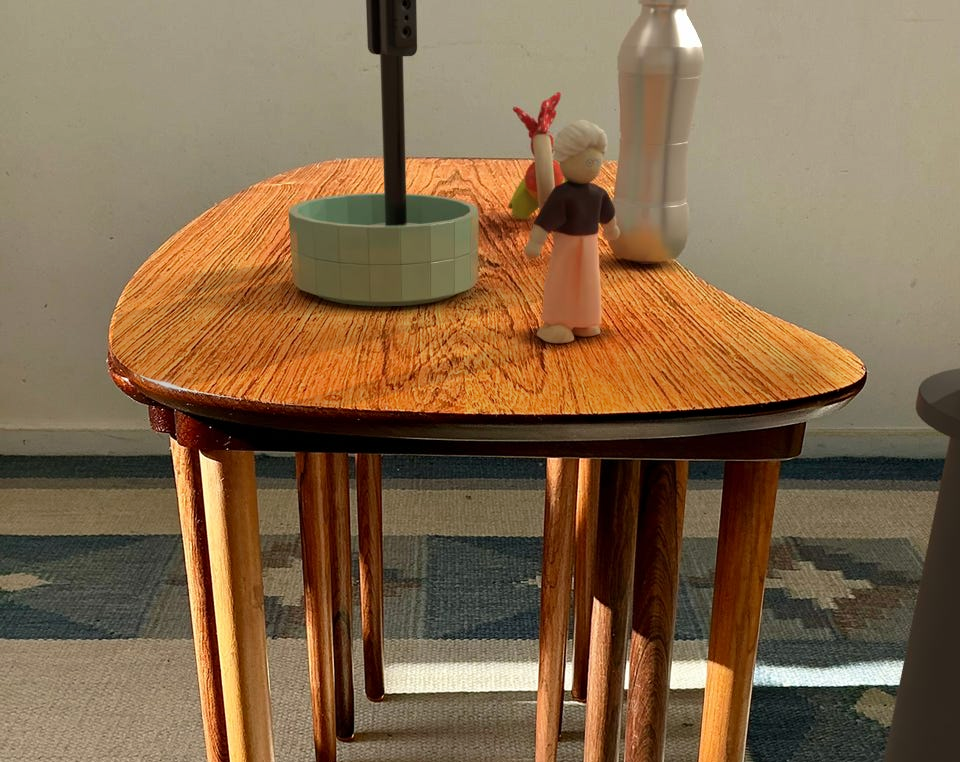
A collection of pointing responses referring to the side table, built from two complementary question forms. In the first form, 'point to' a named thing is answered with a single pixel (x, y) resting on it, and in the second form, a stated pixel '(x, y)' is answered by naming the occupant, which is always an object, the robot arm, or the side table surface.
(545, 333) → the grandmother figurine
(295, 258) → the bowl
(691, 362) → the side table surface
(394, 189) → the paper towel stand
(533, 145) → the bird rattle
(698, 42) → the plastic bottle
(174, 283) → the side table surface
